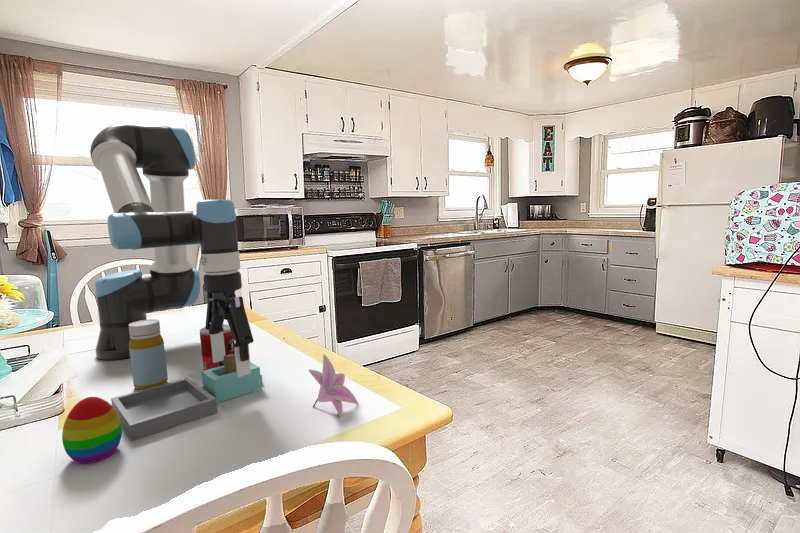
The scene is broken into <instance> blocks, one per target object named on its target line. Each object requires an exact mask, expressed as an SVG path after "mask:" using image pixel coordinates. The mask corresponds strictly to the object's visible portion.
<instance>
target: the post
mask: <svg viewBox="0 0 800 533" xmlns="http://www.w3.org/2000/svg"><path fill="white" fill-rule="evenodd" d="M224 367H225V374H229V373H232V372H236V371H237V369H236V359H235V354H229V355H226V356H224Z"/></svg>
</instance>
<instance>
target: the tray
mask: <svg viewBox="0 0 800 533" xmlns="http://www.w3.org/2000/svg"><path fill="white" fill-rule="evenodd" d="M110 400H111V401H110V402H111V405H112V406H113V407H114V409H115V410H116V411H117V413H118V415H119V417H120V420H121V424H122V429H124V431H125V432H126V433H127V435H128V436H129V438H130V440H131V441H134V440H138V439H141V438H144V437H148V436H150V435H153V434H156V433H158V432H162V431H165V430H168V429H171V428H174V427H177V426H180V425H183V424H186V423H189V422H192V421H195V420H197V419H200V417H201V418H204V417H206V415H207V416H210V415H213V414H216V413H218V406H217V405H218V403H216V398H214V397H213V396H212V395H211V394H209V393H208V392H207V391H205V390H204V389H203V386H200V385H199V384H198V383H196V381H194V380H193V379H191V378H190V377H186V378H182V379H177V380H175V381H170V382H168V383H167V382H166V383H165V384H163V385H159V386H155V387H152V388H148V389H144V390H137V391H133V392H130V393H126V394H121V395H118V396H114V397H112V398H110ZM215 412H216V413H215ZM212 413H213V414H212ZM209 414H210V415H209ZM203 416H204V417H203ZM182 423H183V424H182ZM179 424H180V425H179ZM170 427H171V428H170Z"/></svg>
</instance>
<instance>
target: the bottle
mask: <svg viewBox="0 0 800 533" xmlns="http://www.w3.org/2000/svg"><path fill="white" fill-rule="evenodd" d="M129 333H130V338H131V339H130V342H129V352H130V366H131V367H130V368H131V375H132V382H133V387H134V388H135V389H137V391H140V390H144V389H148V388H152V387H155V386H159V385H163V384H166V383H167V381H168V380H169V379H168V378H169V377H168V376H169V375H168V367H167V360H166V349H165V342H164V338H163V337H162V334H161V324H160V320H159V319H153V318H152V319H149V318H148V319H147V320H141V321H136V322H133V323H130V324H129Z"/></svg>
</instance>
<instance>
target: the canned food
mask: <svg viewBox="0 0 800 533" xmlns="http://www.w3.org/2000/svg"><path fill="white" fill-rule="evenodd" d="M222 327H223V329H224V331H221V332H223V335H224V345H225V356H226V355H229V354H235V348H234V347H233V345H234V343H236V342H235V340H234V337H233V335H232V332H231V330H230V327H229V324H227V323H226V324H224V323H223V326H222ZM219 333H220V332H219ZM210 335H211V334H210V333H209V330H206V326H205V327H202V328H200V329H199V340H200V350H201V357H202V358H201V359H202V365H203V366H202V368H203V370H202V371H204V370H208V369H212V368H216V367H219V366H223V365H224V360H223V361H220V362H216V363H214V362H213V358H212V348H211V338H210Z"/></svg>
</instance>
